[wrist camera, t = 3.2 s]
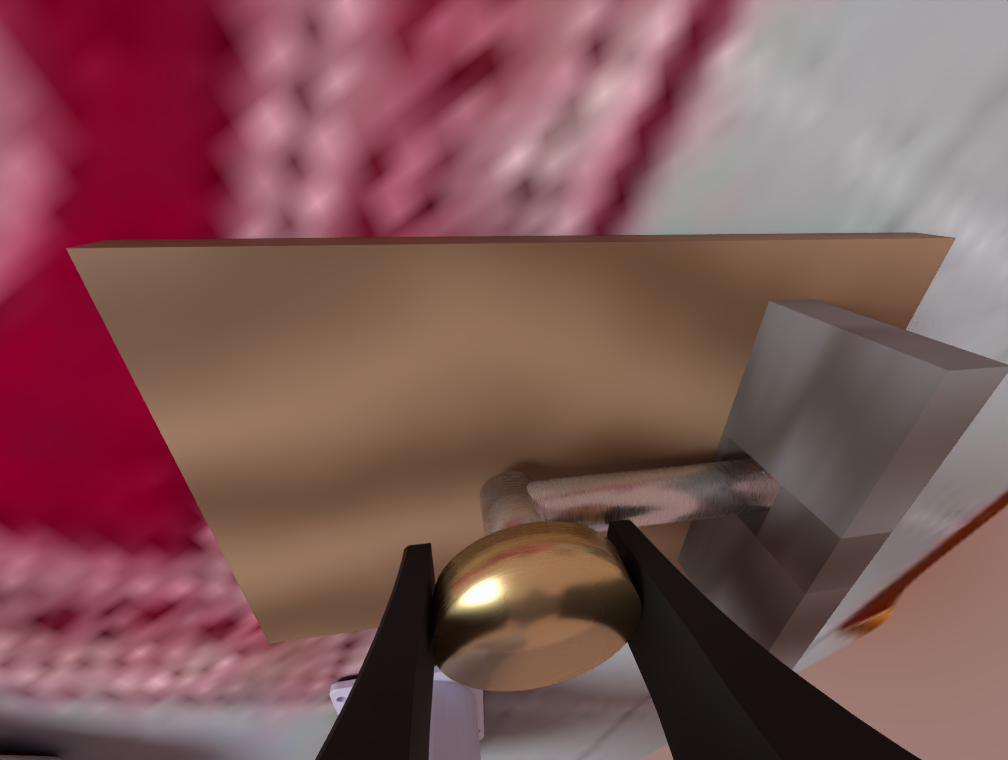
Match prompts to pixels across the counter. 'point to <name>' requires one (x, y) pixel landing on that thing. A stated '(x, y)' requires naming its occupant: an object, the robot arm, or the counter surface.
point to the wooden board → (538, 398)
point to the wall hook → (27, 757)
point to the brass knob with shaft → (566, 568)
